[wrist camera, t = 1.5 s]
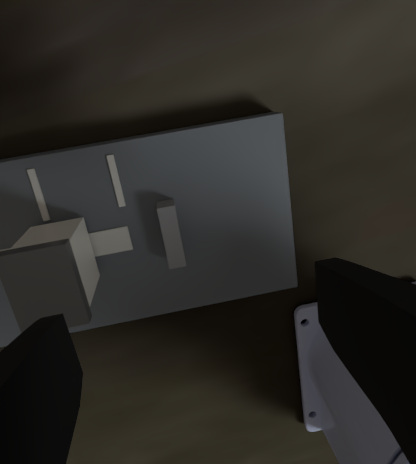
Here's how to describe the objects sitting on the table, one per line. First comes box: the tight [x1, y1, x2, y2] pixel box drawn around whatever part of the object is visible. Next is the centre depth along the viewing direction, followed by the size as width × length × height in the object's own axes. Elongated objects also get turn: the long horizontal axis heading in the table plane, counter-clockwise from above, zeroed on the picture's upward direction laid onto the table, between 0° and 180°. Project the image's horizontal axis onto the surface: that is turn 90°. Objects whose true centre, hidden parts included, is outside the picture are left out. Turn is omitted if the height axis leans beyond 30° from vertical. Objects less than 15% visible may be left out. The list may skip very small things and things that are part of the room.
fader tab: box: [0, 217, 100, 333], centre depth 17 cm, size 3×3×4 cm
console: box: [0, 112, 298, 347], centre depth 19 cm, size 9×22×3 cm, turn 99°
